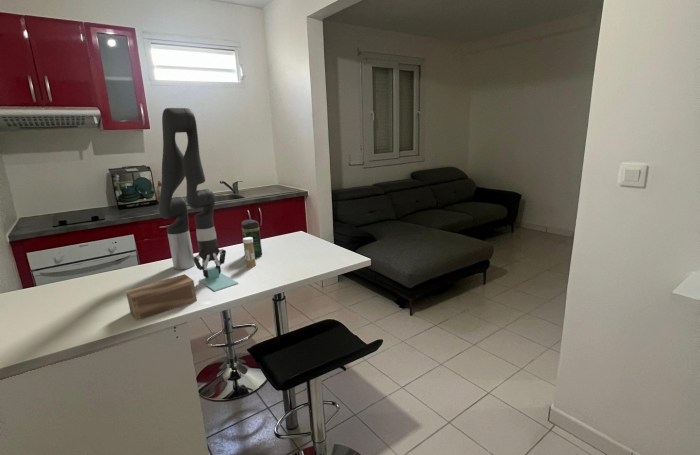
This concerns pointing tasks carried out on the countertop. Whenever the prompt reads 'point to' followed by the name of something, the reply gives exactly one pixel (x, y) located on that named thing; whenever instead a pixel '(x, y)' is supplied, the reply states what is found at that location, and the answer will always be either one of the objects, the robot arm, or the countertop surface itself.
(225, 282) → the cover plate
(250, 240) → the sprinkles bottle
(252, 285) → the countertop surface
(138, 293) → the brown wooden block
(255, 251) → the coffee jar
